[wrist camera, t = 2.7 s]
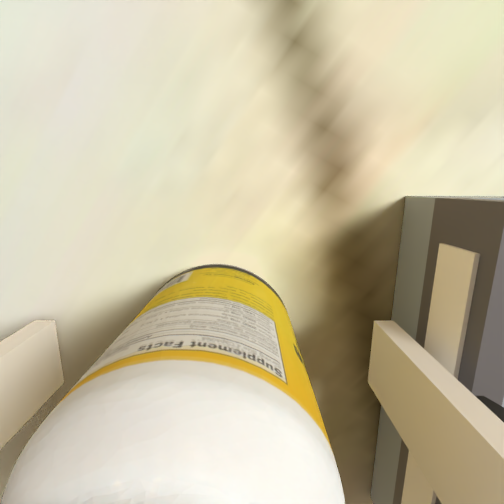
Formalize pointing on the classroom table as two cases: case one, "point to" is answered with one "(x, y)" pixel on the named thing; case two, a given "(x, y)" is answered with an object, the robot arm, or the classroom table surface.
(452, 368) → the grey piece
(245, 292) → the pill bottle
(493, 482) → the robot arm
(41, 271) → the classroom table surface
